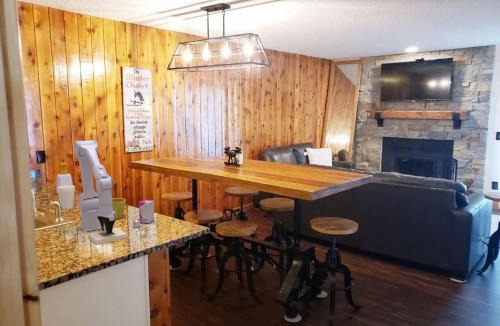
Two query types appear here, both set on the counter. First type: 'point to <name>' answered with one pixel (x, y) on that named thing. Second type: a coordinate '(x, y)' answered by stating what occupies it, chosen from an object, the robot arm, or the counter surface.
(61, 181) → the soap bottle
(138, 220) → the short steel pin
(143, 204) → the supplement box
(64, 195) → the foam cup
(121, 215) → the plant pot
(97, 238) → the hole board
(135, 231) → the counter surface
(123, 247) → the counter surface
